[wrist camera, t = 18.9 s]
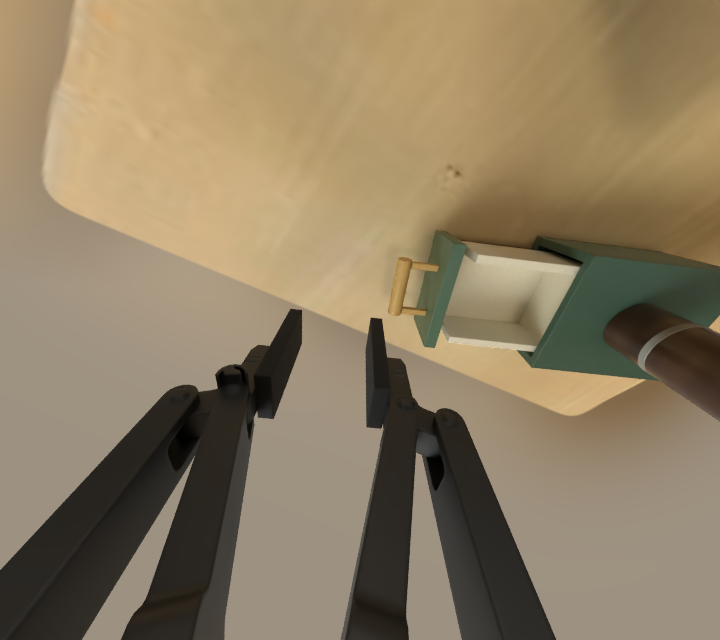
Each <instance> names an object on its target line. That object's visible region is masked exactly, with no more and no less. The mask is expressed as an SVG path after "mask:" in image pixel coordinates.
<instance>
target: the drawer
mask: <svg viewBox="0 0 720 640" xmlns="http://www.w3.org/2000/svg"><path fill="white" fill-rule="evenodd" d="M581 266H582V263H580V262H577V261H575V260H572V259H570V258H567V257H564V256H562V255H559V254H557V253H553V252H545V251H537V250H529V249H521V248H513V247H505V246H497V245H489V244H481V243H474V242H466V241H460V240H458V239H457V238H455V237H454V236H452V235H451V234H449V233H447V232H444V231H436V232H435V236H434V240H433V244H432V248H431V252H430V256H429V260H428V263H421V262H413V261H412V260H411V259H409V258H405V257H400V258H398V262H397V267H396V272H395V277H394V283H393V288H392V293H391V298H390V303H389V309H388V313H389V314H391V315H393V316H399V315H400V314H401V313H404V314H413V315H415V316H414V320H415V323H416V326H417V329H418V331H419V334H420V337H421V340H422V342H423V345H424V347H431V348H435V345H436V342H437V339H438V336H439V333H440V329H441V330H442V332H443V333H444V335H445V337H446V339H447V341H448V343H456V344H465V345H474V346H484V347H493V348H503V349H512V350H521V351H531V352H534V351H535V349H536V347H537V345H538V344H539V342H540V340H541V338H542V336H543V335H544V333H545V331H546V329H547V327H548V326H549V324H550V322H551V320H552V318H553V316H554V315H555V313H556V311H557V309H558V307H559V306H560V304H561V302H562V300H563V298H564V296H565V295H566V293H567V291H568V289H569V287H570V286H571V284H572V282H573V280H574V278H575V277H576V275H577V273H578V271H579V269H580V267H581ZM410 269H419V270H426V272H425V276H424V280H423V284H422V288H421V292H420V296H419V300H418V304H417V308H412V307H403V301H404V296H405V292H406V287H407V283H408V278H409V274H410Z"/></svg>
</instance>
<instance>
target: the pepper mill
mask: <svg viewBox="0 0 720 640" xmlns="http://www.w3.org/2000/svg"><path fill="white" fill-rule="evenodd" d="M603 339H604V341H605V343H606V344H607V345H608V346H610V347H611V348H613V349H614V350H616V351H617V352H619V353H620V354H621V355H623V356H624V357H626V358H627V359H629V360H630V361H632V362H633V363H635V364H636V365H638V366H639V367H640V368H641V369H642V370H644V371H645V372H647V373H648V374H650V375H652V376H654V377H655V378H657V379H658V380H660V381H661V382H662V383H664V384H665V385H667V386H668V387H670V388H671V389H673V390H674V391H676V392H677V393H679V394H680V395H682V396H683V397H685V398H686V399H687V400H689V401H690V402H692V403H693V404H695V405H696V406H698V407H699V408H701V409H702V410H704V411H705V412H707V413H708V414H709V415H711V416H712V417H714V418H715V419H717V420H718V421H720V333H718V332H715V331H713V330H712V329H710V328H708V327H706V326H703V325H701V324H697V323H695V322H692V321H690V320H688V319H685V318H683V317H681V316H678V315H676V314H674V313H672V312H669V311H667V310H665V309H662V308H660V307H658V306H655V305H653V304H638V305H634V306H631V307H628V308H626V309H624V310H622V311H621V312H619V313H618V314H617V315H615V316H614V317H613V318H612V319H611V320H610V321H609V323H608V324H607V325H606V327H605V329H604V332H603Z"/></svg>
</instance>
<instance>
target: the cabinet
mask: <svg viewBox="0 0 720 640" xmlns="http://www.w3.org/2000/svg"><path fill="white" fill-rule="evenodd" d="M532 250H537V251H545V252H553V253H557V254H559V255H562V256H564V257H567V258H570V259H572V260H575V261H577V262H580V263H582V266H581V267H580V269H579V271H578V273H577V275H576V277H575V278H574V280H573V282H572V284H571V286H570V287H569V289H568V291H567V293H566V295H565V296H564V298H563V300H562V302H561V304H560V306H559V307H558V309H557V311H556V313H555V315H554V316H553V318H552V320H551V322H550V324H549V326H548V327H547V329H546V331H545V333H544V335H543V336H542V338H541V340H540V342H539V344H538V345H537V347H536V349H535V351H534V352H531V351H521V350H517V351H518V352H519V354H520V355H521V356H522V357H523V358H524V359H525V360H526V361H527V362H528V364H529V365H530V366H531V367H532V368H541V369H551V370H561V371H570V372H580V373H589V374H599V375H609V376H618V377H628V378H638V379H647V380H657V381H660V380H658V379H657V378H655V377H654V376H652V375H650V374H648V373H647V372H645V371H644V370H642V369H641V368H640V367H639V366H638V365H636V364H635V363H633V362H632V361H630V360H629V359H627V358H626V357H624V356H623V355H621V354H620V353H619V352H617V351H616V350H614V349H613V348H611V347H610V346H608V345H607V344H606V343H605V341H604V339H603V332H604V329H605V327H606V325H607V324H608V323H609V321H610V320H611V319H612V318H613V317H614V316H615V315H617V314H618V313H619V312H621V311H622V310H624V309H626V308H628V307H631V306H634V305H638V304H653V305H655V306H658V307H660V308H662V309H665V310H667V311H669V312H672V313H674V314H676V315H678V316H681V317H683V318H685V319H688V320H690V321H692V322H695V323H697V324H701V325H703V326H706V327H709V326H710V325H711V324H712V323H713V322H714V321H715V320H716V319H717V317H718V316H719V315H720V267H719V266H715V265H711V264H707V263H702V262H698V261H694V260H690V259H686V258H682V257H678V256H674V255H670V254H666V253H662V252H656V251H648V250H640V249H632V248H624V247H617V246H609V245H601V244H593V243H585V242H578V241H570V240H562V239H554V238H546V237H539V236H538V237H537V240H536V242H535V244H534V247H533V249H532Z"/></svg>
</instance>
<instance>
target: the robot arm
mask: <svg viewBox="0 0 720 640" xmlns="http://www.w3.org/2000/svg"><path fill="white" fill-rule="evenodd" d="M301 344H302V310H295V309H290V311H289V313H288V315H287V316H286V318H285V320H284V322H283V323H282V325H281V327H280V329H279V331H278V332H277V334H276V336H275V338H274V340H273V341H272V343H271V345H270V346H264V345H257V346H256V347H254V348H253V349H252V350H251V351H250V352H249V354H248V355H247V357H246V358H245V360H244V362H243V363H242V365H237V364H234V365H228V366H226V367H223V368H221V369H220V370H219V371H218V372H217V373H216V374H215V376H216V381H217V386H218V389H216V390H210V391H203V392H198V390H197V388H196V387H195V386H192V385H181V386H177V387H175V388H172V389H170V390H169V391H168V392H166V393H165V394H164V395H163V396H162V397H161V398H160V399H159V400H158V402H157V403H156V404H155V405H154V406H153V407H152V408H151V409H150V410H149V411H148V412H147V413H146V414H145V416H144V417H143V418H142V419H141V420H140V421H139V422H138V423H137V424H136V425H135V426H134V427H133V428H132V429H131V431H130V432H129V433H128V434H127V435H126V436H125V437H124V438H123V439H122V440H121V441H120V442H119V443H118V445H117V446H116V447H115V448H114V449H113V450H112V451H111V452H110V453H109V454H108V455H107V456H106V457H105V458H104V460H103V461H102V462H101V463H100V464H99V465H98V466H97V467H96V468H95V469H94V470H93V471H92V472H91V473H90V475H89V476H88V477H87V478H86V479H85V480H84V481H83V482H82V483H81V484H80V485H79V486H78V487H77V489H76V490H75V491H74V492H73V493H72V494H71V495H70V496H69V497H68V498H67V499H66V500H65V502H63V504H62V505H61V506H60V507H59V508H58V509H57V510H56V511H55V512H54V513H53V514H52V516H50V518H49V519H48V520H47V521H46V522H45V523H44V524H43V525H42V526H41V527H40V528H39V529H38V530H37V532H35V534H34V535H33V536H32V537H31V538H30V539H29V540H28V541H27V542H26V543H25V544H24V545H23V546H22V548H21V549H20V550H19V551H18V552H17V553H16V554H15V555H14V556H13V557H12V558H11V560H9V561H8V563H7V564H6V565H5V566H4V567H3V568H2V569H1V570H0V640H82V638H83V637H84V635H85V633H86V632H87V630H88V629H89V627H90V625H91V624H92V622H93V621H94V619H95V617H96V616H97V614H98V612H99V611H100V609H101V607H102V606H103V604H104V603H105V601H106V599H107V597H108V596H109V594H110V592H111V591H112V590H113V588H114V586H115V585H116V583H117V581H118V580H119V578H120V576H121V575H122V573H123V571H124V570H125V568H126V567H127V565H128V563H129V562H130V560H131V559H132V557H133V555H134V554H135V552H136V551H137V549H138V547H139V546H140V544H141V542H142V541H143V539H144V537H145V536H146V534H147V533H148V531H149V529H150V528H151V526H152V524H153V523H154V521H155V520H156V518H157V516H158V515H159V513H160V511H161V510H162V508H163V507H164V505H165V503H166V501H167V500H168V498H169V497H170V495H171V494H172V492H173V490H174V489H175V487H176V485H177V484H178V482H179V481H180V479H181V477H182V476H183V474H184V472H185V471H186V469H187V468H188V466H189V464H190V463H191V461H192V459H193V458H194V456H195V458H194V461H193V464H192V467H191V470H190V472H189V476H188V478H187V481H186V484H185V487H184V490H183V493H182V496H181V499H180V502H179V505H178V508H177V510H176V513H175V516H174V519H173V522H172V525H171V528H170V531H169V534H168V537H167V540H166V543H165V545H164V548H163V551H162V554H161V557H160V560H159V563H158V566H157V569H156V572H155V575H154V578H153V581H152V583H151V586H150V589H149V592H148V595H147V597H146V599H145V601H144V603H143V605H142V606H141V607H140V608H139V609H138V610H137V611H136V612H135V613H134V614H133V616H132V617H131V619H130V621H129V623H128V624H127V627H126V629H125V632H124V634H123V636H122V639H121V640H224V627H225V626H224V625H225V614H226V607H227V600H228V594H229V587H230V581H231V574H232V568H233V561H234V555H235V548H236V541H237V535H238V528H239V522H240V515H241V508H242V502H243V496H244V489H245V482H246V476H247V469H248V463H249V456H250V449H251V443H252V436H253V429H254V416H255V414H256V412H258V417H259V418H269V419H274V416H275V414H276V411H277V408H278V406H279V403H280V400H281V398H282V395H283V392H284V389H285V387H286V384H287V382H288V379H289V376H290V374H291V371H292V368H293V366H294V363H295V360H296V358H297V355H298V352H299V350H300V347H301ZM366 418H367V419H366V421H367V427H370V428H382V424H383V428H384V430H383V435H382V438H381V443H380V449H379V454H378V459H377V464H376V469H375V474H374V479H373V484H372V489H371V493H370V499H369V503H368V509H367V513H366V518H365V523H364V528H363V533H362V538H361V543H360V548H359V553H358V558H357V563H356V568H355V573H354V578H353V582H352V588H351V592H350V597H349V603H348V608H347V612H346V617H345V622H344V627H343V632H342V636H341V640H409V635H408V625H407V620H406V602H407V587H408V571H409V555H410V537H411V522H412V506H413V490H414V474H415V458H416V452H417V453H419V454H421V455H422V457H423V462H424V466H425V471H426V475H427V480H428V485H429V489H430V494H431V499H432V503H433V508H434V513H435V517H436V522H437V527H438V531H439V536H440V540H441V545H442V550H443V554H444V559H445V563H446V568H447V573H448V578H449V582H450V587H451V591H452V596H453V601H454V605H455V610H456V614H457V619H458V624H459V628H460V633H461V638H462V640H556V638H555V636H554V633H553V631H552V629H551V626H550V624H549V622H548V619H547V617H546V614H545V612H544V610H543V607H542V605H541V602H540V600H539V598H538V595H537V593H536V590H535V588H534V586H533V584H532V581H531V579H530V576H529V574H528V571H527V569H526V567H525V565H524V562H523V560H522V557H521V555H520V552H519V550H518V548H517V545H516V543H515V541H514V538H513V536H512V533H511V532H510V529H509V526H508V524H507V521H506V519H505V517H504V515H503V512H502V510H501V507H500V505H499V502H498V500H497V498H496V495H495V493H494V491H493V488H492V486H491V483H490V481H489V479H488V477H487V474H486V472H485V469H484V467H483V465H482V462H481V460H480V457H479V455H478V453H477V450H476V448H475V445H474V443H473V441H472V438H471V436H470V433H469V431H468V429H467V426H466V424H465V422H464V420H463V418H462V417H461V416H460V415H459V414H458V413H457V412H455V411H453V410H451V409H447V408H443V409H439V410H438V411H437V412H436V413H434V412H431V411H428V410H426V409H423V408H422V407H420V406H419V405H418V403H417V401H416V400H415V399H414V398H413V397H412V394H411V389H410V384H409V380H408V376H407V372H406V366H405V364H404V363H403V361H402V360H401V359H397V358H387V354H386V347H385V339H384V331H383V324H382V319H378V318H371V320H370V326H369V332H368V339H367V345H366Z"/></svg>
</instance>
